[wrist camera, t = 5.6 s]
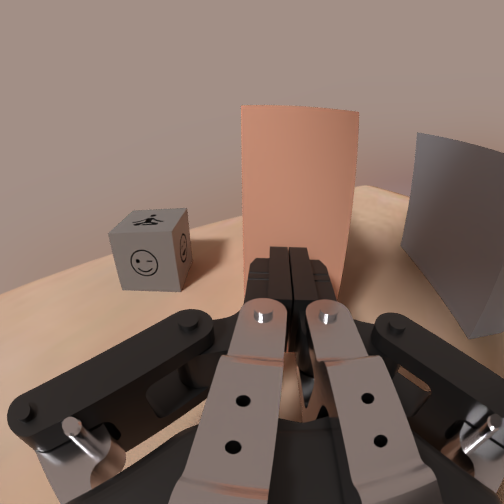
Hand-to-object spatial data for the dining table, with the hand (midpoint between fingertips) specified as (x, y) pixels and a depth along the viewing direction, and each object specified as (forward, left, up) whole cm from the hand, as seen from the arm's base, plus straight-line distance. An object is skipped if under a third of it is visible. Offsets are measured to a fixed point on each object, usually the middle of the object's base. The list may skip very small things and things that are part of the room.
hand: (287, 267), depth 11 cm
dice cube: (+7, -11, -6) cm, 15 cm away
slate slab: (-17, -4, -6) cm, 19 cm away
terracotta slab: (-2, -8, -6) cm, 10 cm away
